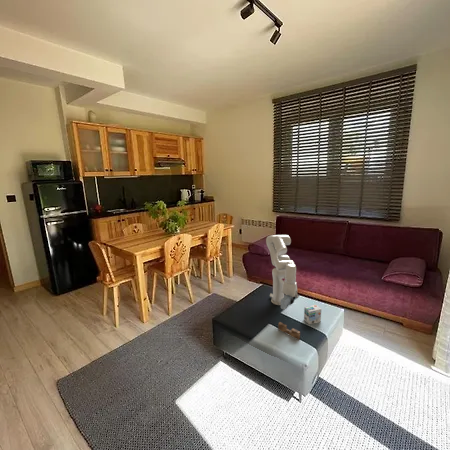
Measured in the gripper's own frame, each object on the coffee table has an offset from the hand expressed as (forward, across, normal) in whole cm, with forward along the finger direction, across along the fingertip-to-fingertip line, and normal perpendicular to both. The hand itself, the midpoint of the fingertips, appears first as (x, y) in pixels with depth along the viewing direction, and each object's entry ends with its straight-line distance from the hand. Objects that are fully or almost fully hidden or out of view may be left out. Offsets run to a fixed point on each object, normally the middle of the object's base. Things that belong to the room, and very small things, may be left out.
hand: (289, 302), depth 179 cm
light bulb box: (+15, +13, +11) cm, 23 cm away
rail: (+15, +8, -14) cm, 22 cm away
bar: (+1, 0, -4) cm, 4 cm away
